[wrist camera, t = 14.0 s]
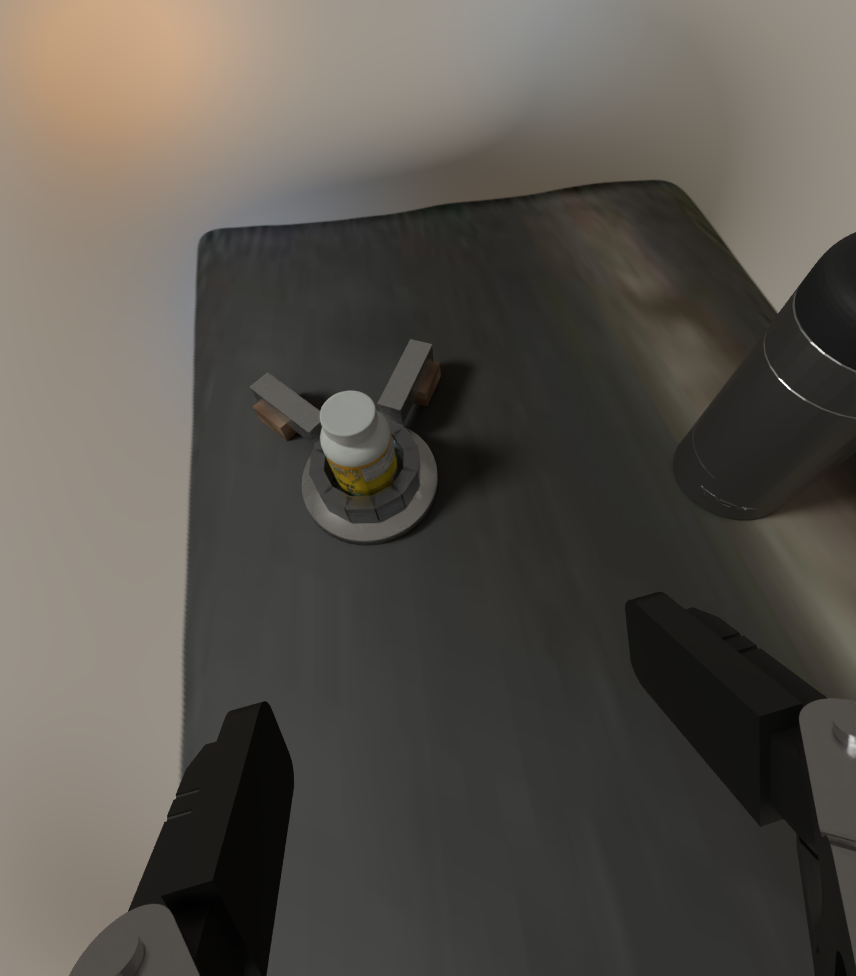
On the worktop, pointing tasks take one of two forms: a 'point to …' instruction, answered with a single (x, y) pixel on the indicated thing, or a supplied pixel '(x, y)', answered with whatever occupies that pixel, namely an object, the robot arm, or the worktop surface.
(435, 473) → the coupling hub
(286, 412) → the angled shafts
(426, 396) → the blocks
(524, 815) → the worktop surface
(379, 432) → the supplement bottle
